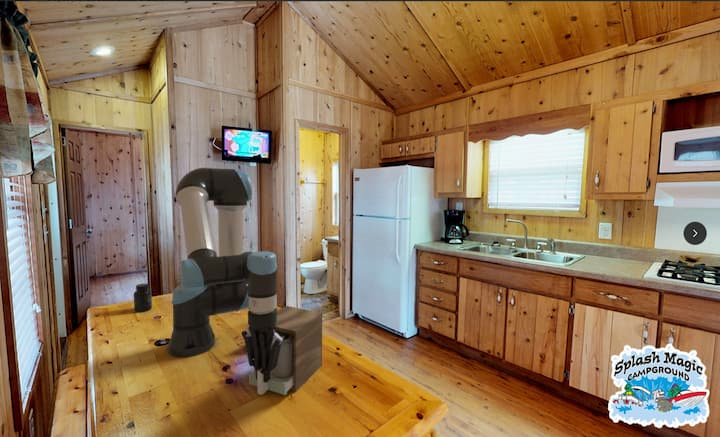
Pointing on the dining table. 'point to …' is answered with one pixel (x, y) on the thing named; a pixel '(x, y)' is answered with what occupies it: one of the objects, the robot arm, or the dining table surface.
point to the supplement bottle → (142, 298)
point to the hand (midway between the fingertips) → (263, 391)
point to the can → (285, 356)
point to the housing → (302, 340)
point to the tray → (275, 383)
